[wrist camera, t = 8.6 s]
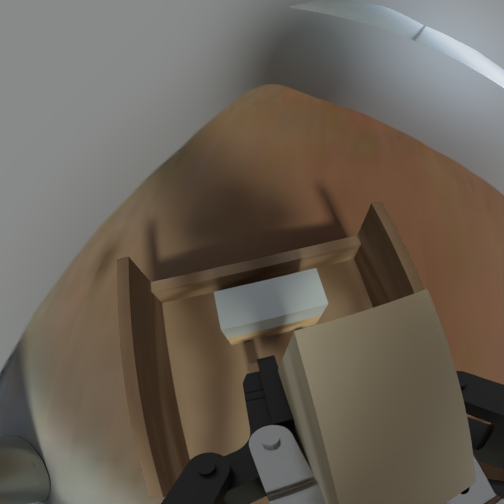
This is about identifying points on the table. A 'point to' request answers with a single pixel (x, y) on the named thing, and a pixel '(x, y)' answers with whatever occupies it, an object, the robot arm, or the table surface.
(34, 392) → the table surface
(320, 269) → the brown wooden tray
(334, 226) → the table surface
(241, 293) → the grey offcut
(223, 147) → the table surface
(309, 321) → the oak offcut
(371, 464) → the tan wooden bar
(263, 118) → the table surface
